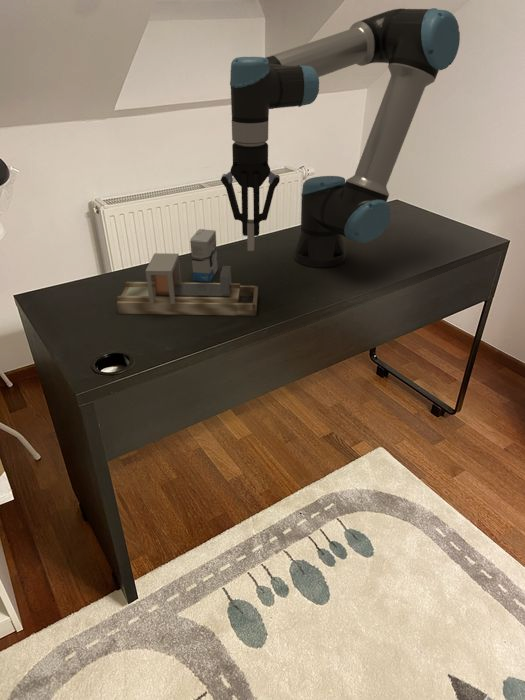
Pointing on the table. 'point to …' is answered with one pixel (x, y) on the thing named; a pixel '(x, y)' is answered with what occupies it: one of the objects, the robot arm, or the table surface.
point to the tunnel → (163, 272)
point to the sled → (195, 286)
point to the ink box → (204, 255)
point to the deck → (188, 302)
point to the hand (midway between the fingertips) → (251, 248)
